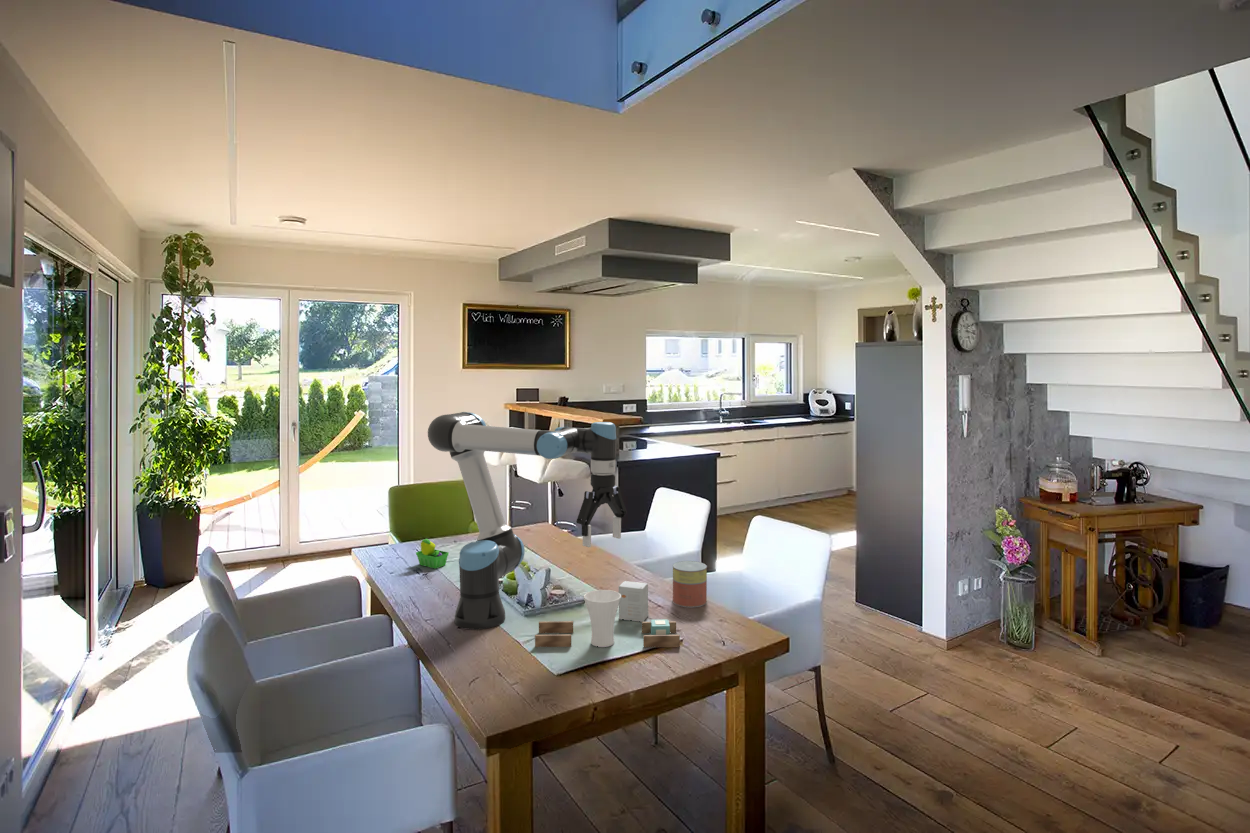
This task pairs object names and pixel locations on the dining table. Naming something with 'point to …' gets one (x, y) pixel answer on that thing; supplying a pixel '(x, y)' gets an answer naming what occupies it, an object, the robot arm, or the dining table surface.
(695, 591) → the canned food
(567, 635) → the caddy left
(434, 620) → the dining table surface
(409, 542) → the dining table surface
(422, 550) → the fruit basket
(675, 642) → the caddy right
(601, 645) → the cup
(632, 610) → the small box
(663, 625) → the letter cube
